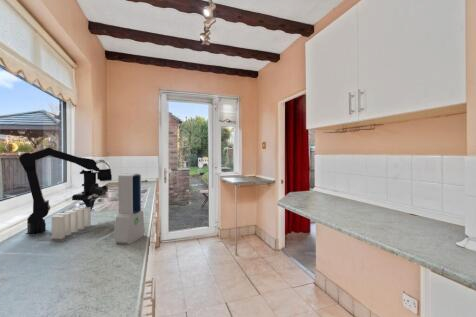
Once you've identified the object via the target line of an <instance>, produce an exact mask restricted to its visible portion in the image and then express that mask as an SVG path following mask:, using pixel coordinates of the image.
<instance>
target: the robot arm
mask: <svg viewBox="0 0 476 317" xmlns="http://www.w3.org/2000/svg"><path fill="white" fill-rule="evenodd" d="M47 157H52V158H56V159H59V160H62V161H67V162H70V163H73V164H76V165H77V166H80V167H82V168H84V169H81V171H79V174H80V175H83V183H82V184H81V187H83V191H81V193H77V194H76V193H75V194H73V195H72V196H71V200H72V201H82V203H84V205H85V207H91V211H92V210H93V207H94V205H95V202H96V200H97V199H99V198H100V197H102V196H106V195H107V192H109V188H108V185H103V186H100V185H99V183H98V182H97V180H99V182H110V181H112V178H113V177H112V176H113V175H112V171H111V170H112V169H111V168H104V169H103V168H102V169H100V167H98V165H97V162H96V161H95V160H94V159H92V158H88V157H81V156H76V155H73V154H69V153H66V152H63V151H60V150H56V149H54V148H52V147H46V148H44V149H41V150H38V151H34V152H24V153H22V154H20V156H19V158H18V160H19V162H20V164H21V166H22V168H23V170H24V171H25V173H26V177H27V180H28V184H29V189H30V192H31V197H32V201H33V202H32V213H31V214H30V215H29V216H28V217H27V221H26V222H27V223H26V224H27V232H26V233H24V235H39V234H42V233H44V232H45V233H46V232H47V231H48V229H46V228H47V227H46V225H47V224H46V219H44V218H45V217H47V216H48V215H49V212H50V210H51V205H50V200H49V199H47V200H46V199H45V198H44V196H43V191H42V187H41V183H40V180H39V174H38V170H37V169H38V168H37V167H38V160H40V159H44V158H47ZM85 169H87V170H85ZM92 170H93V171H92Z"/></svg>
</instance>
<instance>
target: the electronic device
mask: <svg viewBox="0 0 476 317" xmlns="http://www.w3.org/2000/svg"><path fill="white" fill-rule="evenodd" d="M117 177H118V180H117V181H118V183H117V184H118V185H117V186H118V189H117V190H118V193H117V194H118V196H117V197H118V213H117V215H116V217H115V221H114V222H115V223H114V230H113V235H112V238H113V240H114V242H116V244H123V245H130V244H132V243H134V242H136V241H137V240H140V239H141V238H142V237H144V234H145V233H146V232H145V219H144V218H145V217H144V211H143V210H142V174H140V173H121V174H119V175H118V176H117Z"/></svg>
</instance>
